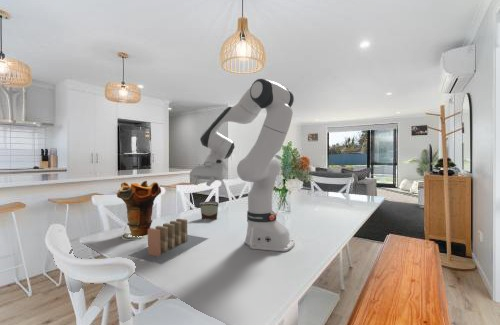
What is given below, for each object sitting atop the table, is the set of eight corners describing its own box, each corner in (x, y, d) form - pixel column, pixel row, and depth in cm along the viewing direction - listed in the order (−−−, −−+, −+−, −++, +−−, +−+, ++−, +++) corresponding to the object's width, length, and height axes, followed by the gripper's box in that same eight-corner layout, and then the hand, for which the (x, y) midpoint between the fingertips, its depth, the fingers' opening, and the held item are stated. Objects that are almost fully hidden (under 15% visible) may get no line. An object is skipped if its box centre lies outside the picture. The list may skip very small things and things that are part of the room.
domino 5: (179, 239, 112) (178, 218, 112) (187, 241, 110) (187, 219, 110) (176, 241, 111) (176, 219, 111) (185, 242, 109) (184, 220, 108)
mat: (208, 240, 114) (208, 238, 114) (161, 266, 88) (161, 264, 88) (179, 234, 122) (179, 233, 122) (127, 257, 96) (127, 255, 96)
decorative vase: (147, 224, 140) (147, 175, 138) (170, 234, 125) (170, 180, 123) (108, 233, 124) (107, 179, 122) (129, 246, 109) (128, 185, 107)
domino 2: (159, 249, 102) (158, 225, 101) (168, 251, 100) (167, 227, 99) (156, 250, 100) (155, 226, 100) (165, 252, 98) (164, 228, 98)
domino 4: (172, 242, 109) (172, 220, 109) (181, 244, 107) (181, 221, 106) (170, 244, 107) (169, 221, 107) (179, 245, 105) (178, 222, 105)
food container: (221, 216, 156) (221, 201, 155) (219, 219, 150) (218, 203, 149) (202, 216, 157) (202, 201, 157) (199, 219, 151) (199, 203, 150)
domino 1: (151, 252, 98) (150, 228, 98) (160, 254, 96) (160, 229, 96) (148, 254, 97) (147, 229, 96) (157, 256, 94) (156, 231, 94)
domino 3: (166, 245, 105) (165, 223, 105) (175, 247, 103) (174, 224, 103) (163, 247, 104) (162, 224, 103) (172, 249, 102) (171, 225, 101)
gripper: (194, 160, 134) (182, 179, 126) (226, 161, 125) (215, 182, 117) (199, 168, 138) (188, 187, 130) (230, 169, 130) (220, 189, 121)
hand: (201, 184), depth 124 cm, fingers open, 6 cm apart
